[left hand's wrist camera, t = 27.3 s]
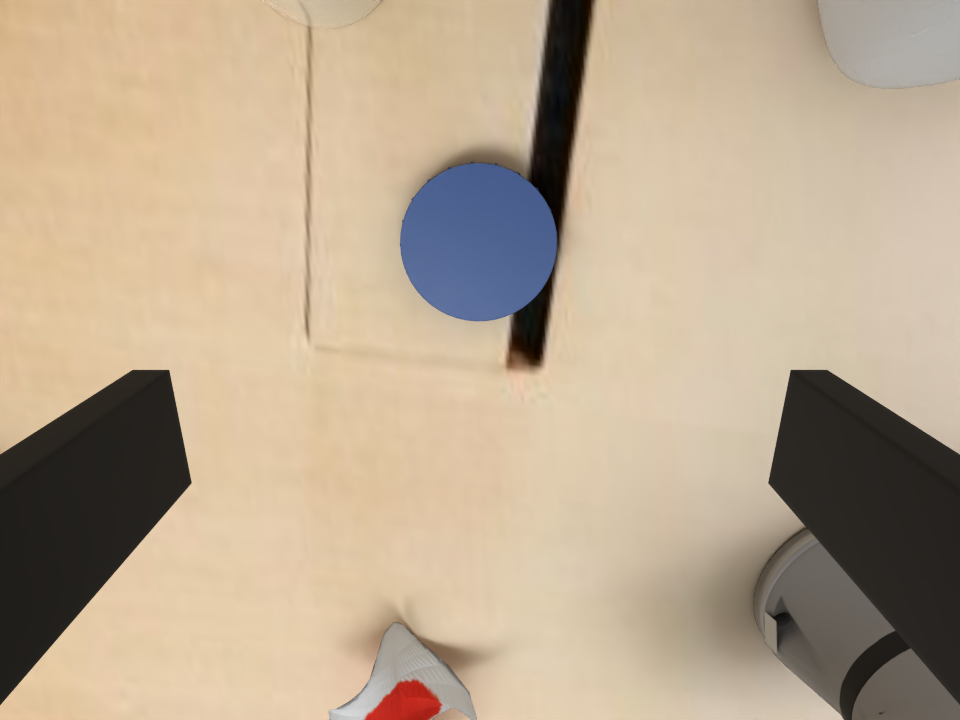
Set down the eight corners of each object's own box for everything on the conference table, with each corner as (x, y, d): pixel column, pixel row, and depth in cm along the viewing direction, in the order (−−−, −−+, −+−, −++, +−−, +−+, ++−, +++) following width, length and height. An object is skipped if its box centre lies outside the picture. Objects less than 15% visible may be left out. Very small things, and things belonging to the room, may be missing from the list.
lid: (386, 290, 37) (382, 297, 36) (425, 140, 34) (422, 139, 32) (525, 331, 38) (528, 340, 37) (575, 188, 35) (580, 190, 33)
